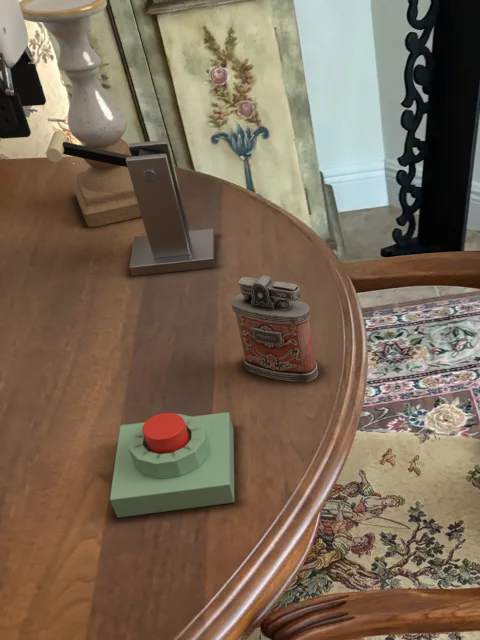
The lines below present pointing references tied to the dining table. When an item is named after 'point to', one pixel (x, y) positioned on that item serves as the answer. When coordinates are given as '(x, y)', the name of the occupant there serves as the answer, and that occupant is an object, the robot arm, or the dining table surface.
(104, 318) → the dining table surface
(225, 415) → the button box
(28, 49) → the robot arm
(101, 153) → the lever
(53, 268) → the dining table surface
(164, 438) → the button
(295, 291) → the lighter
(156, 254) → the bracket
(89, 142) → the candle holder
